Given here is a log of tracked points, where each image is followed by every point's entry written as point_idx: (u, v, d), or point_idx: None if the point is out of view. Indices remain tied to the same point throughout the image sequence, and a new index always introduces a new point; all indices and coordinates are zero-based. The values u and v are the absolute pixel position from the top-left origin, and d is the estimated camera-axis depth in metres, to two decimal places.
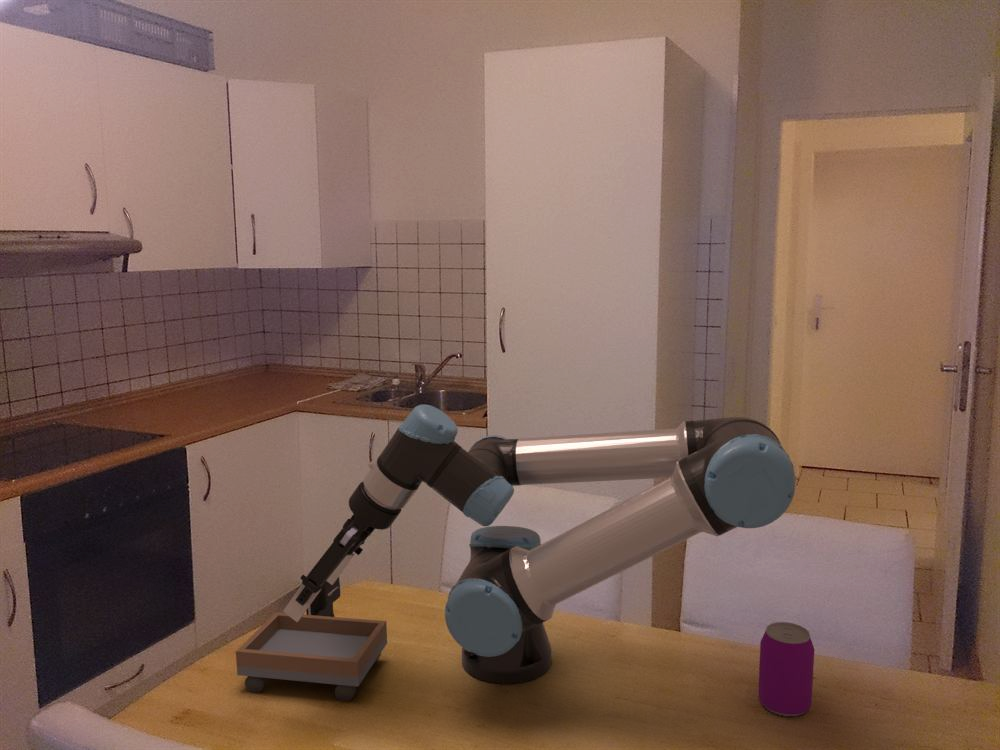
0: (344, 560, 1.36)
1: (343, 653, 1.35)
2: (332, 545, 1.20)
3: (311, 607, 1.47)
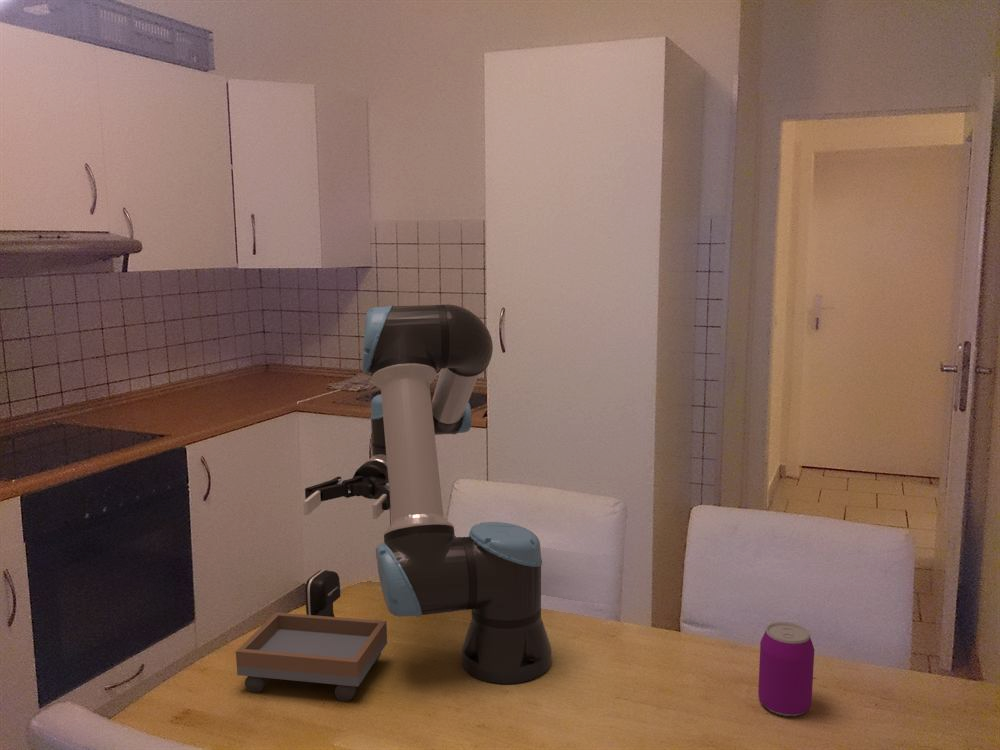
0: None
1: (343, 653, 1.35)
2: None
3: (311, 607, 1.47)
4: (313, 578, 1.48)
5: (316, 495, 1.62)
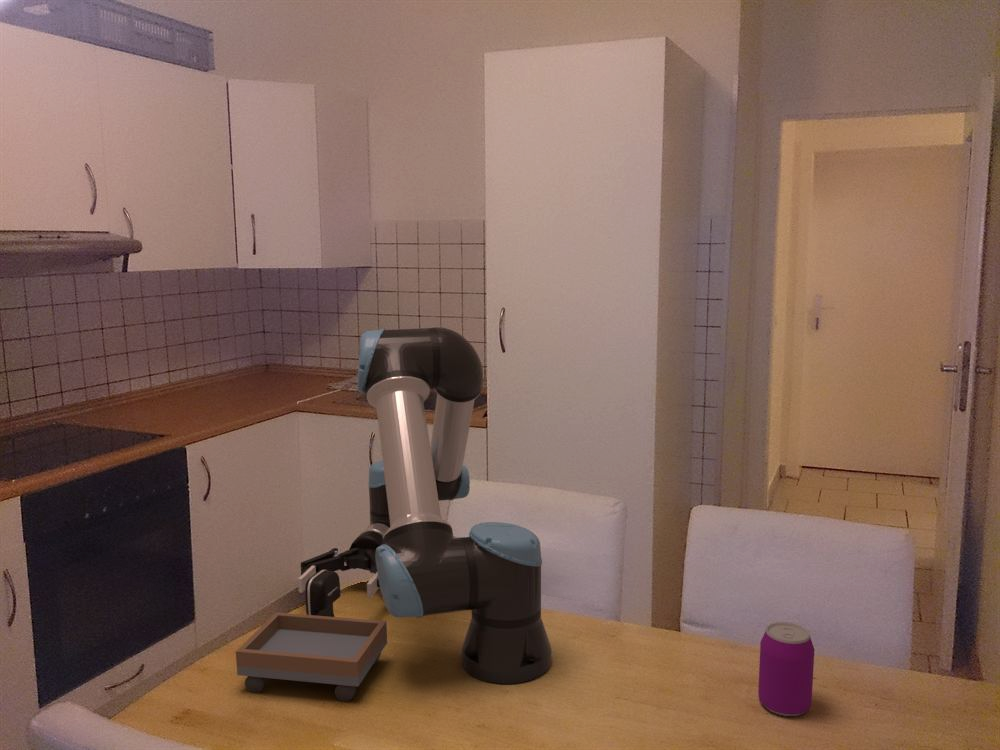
0: None
1: (343, 653, 1.35)
2: None
3: (311, 607, 1.47)
4: (313, 578, 1.48)
5: (311, 571, 1.61)
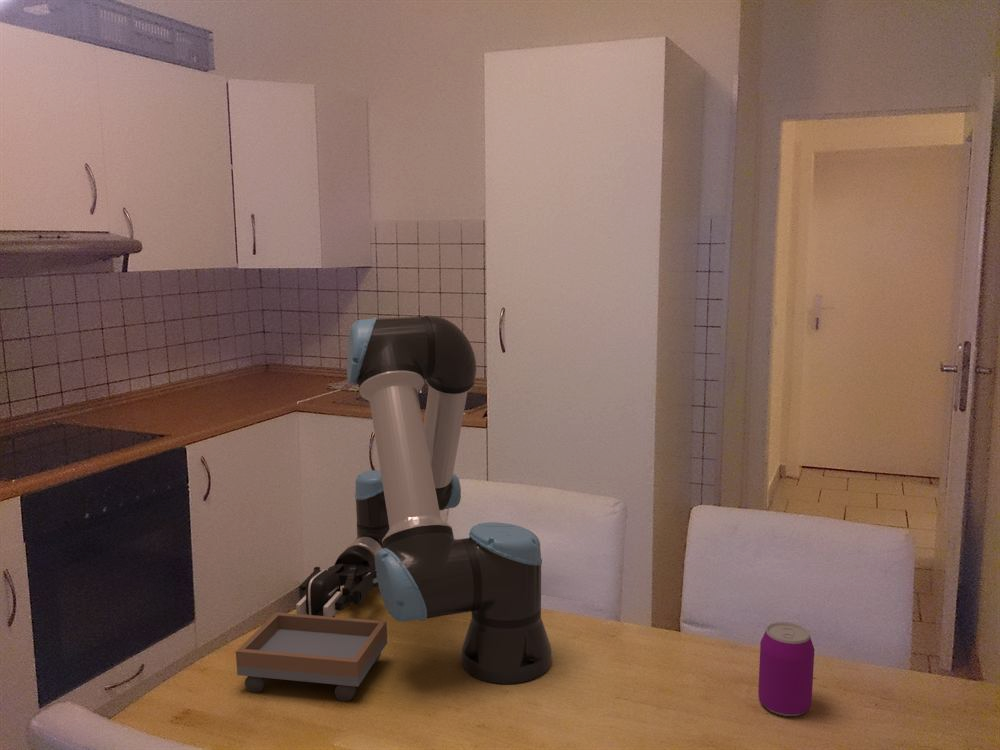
0: None
1: (343, 653, 1.35)
2: None
3: (311, 607, 1.47)
4: (314, 578, 1.48)
5: None
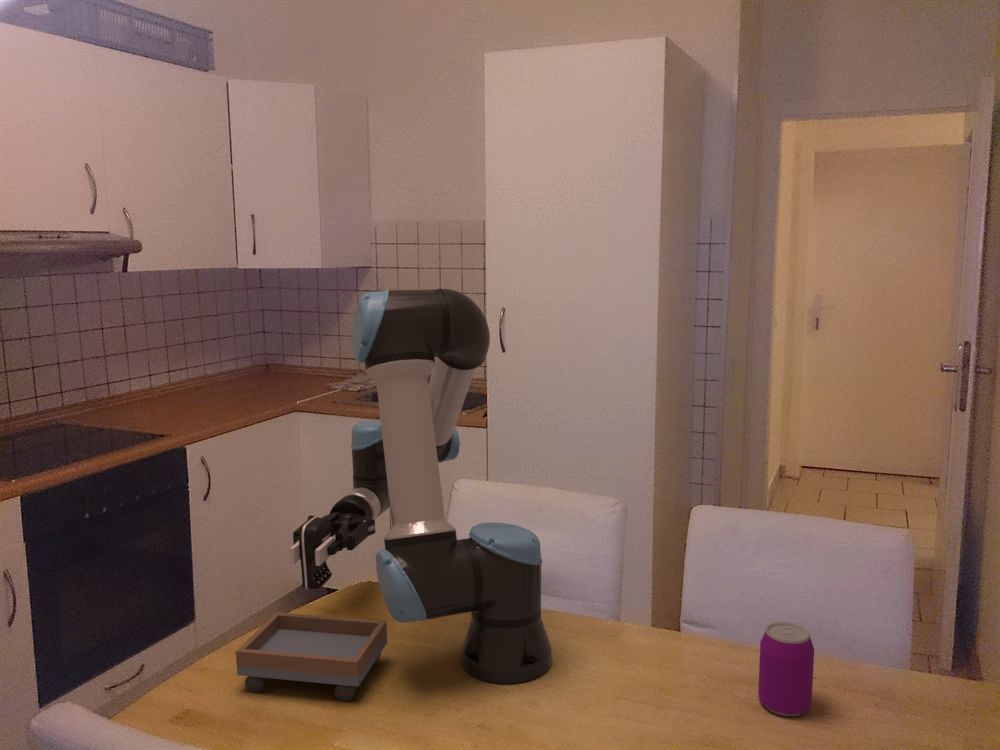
0: None
1: (343, 653, 1.35)
2: None
3: (305, 554, 1.42)
4: (306, 524, 1.43)
5: None
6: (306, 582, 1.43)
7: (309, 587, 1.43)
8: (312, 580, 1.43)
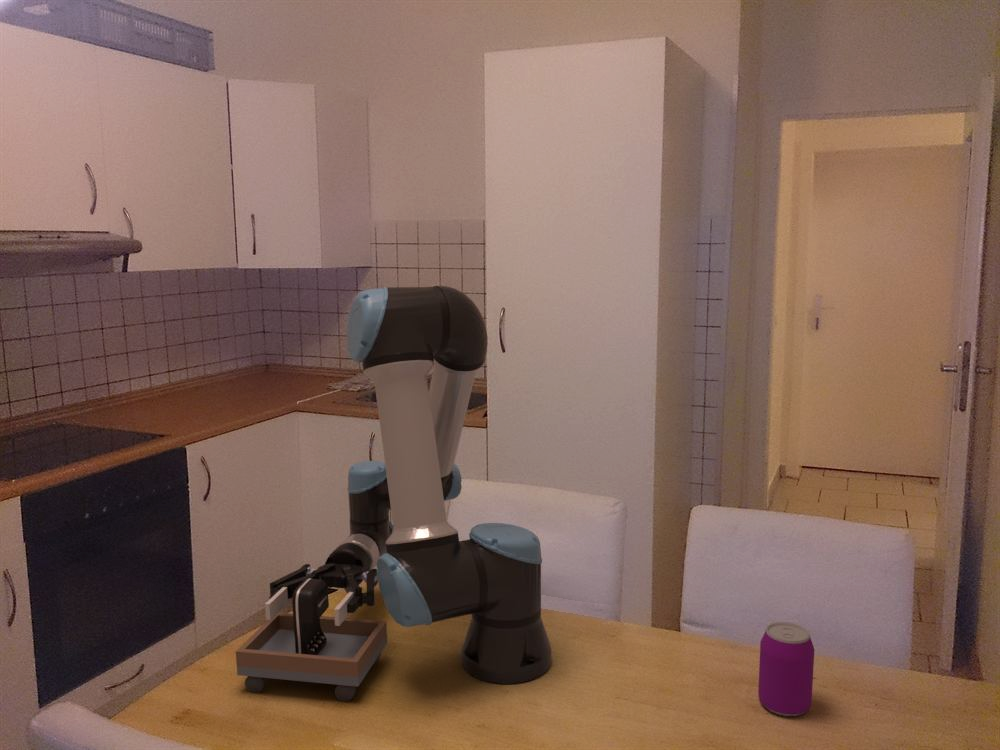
0: None
1: (343, 653, 1.35)
2: None
3: (299, 621, 1.32)
4: (301, 588, 1.32)
5: (282, 593, 1.36)
6: (300, 651, 1.33)
7: None
8: (306, 648, 1.33)
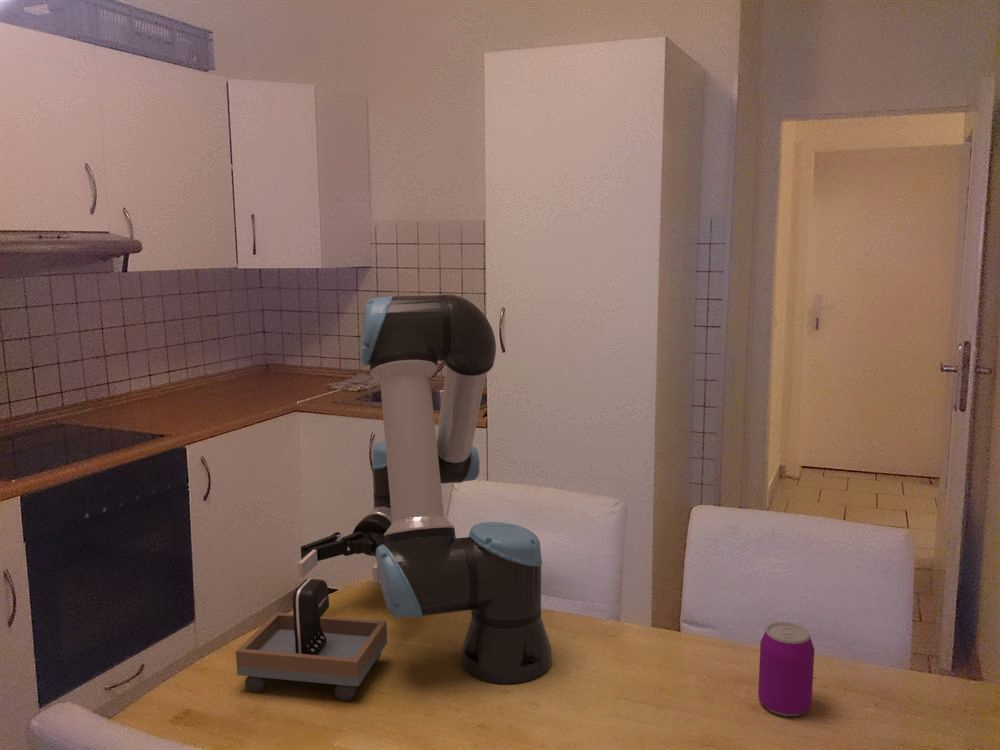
0: None
1: (343, 653, 1.35)
2: None
3: (300, 621, 1.32)
4: (301, 588, 1.32)
5: (312, 555, 1.50)
6: (300, 651, 1.33)
7: None
8: (306, 648, 1.33)
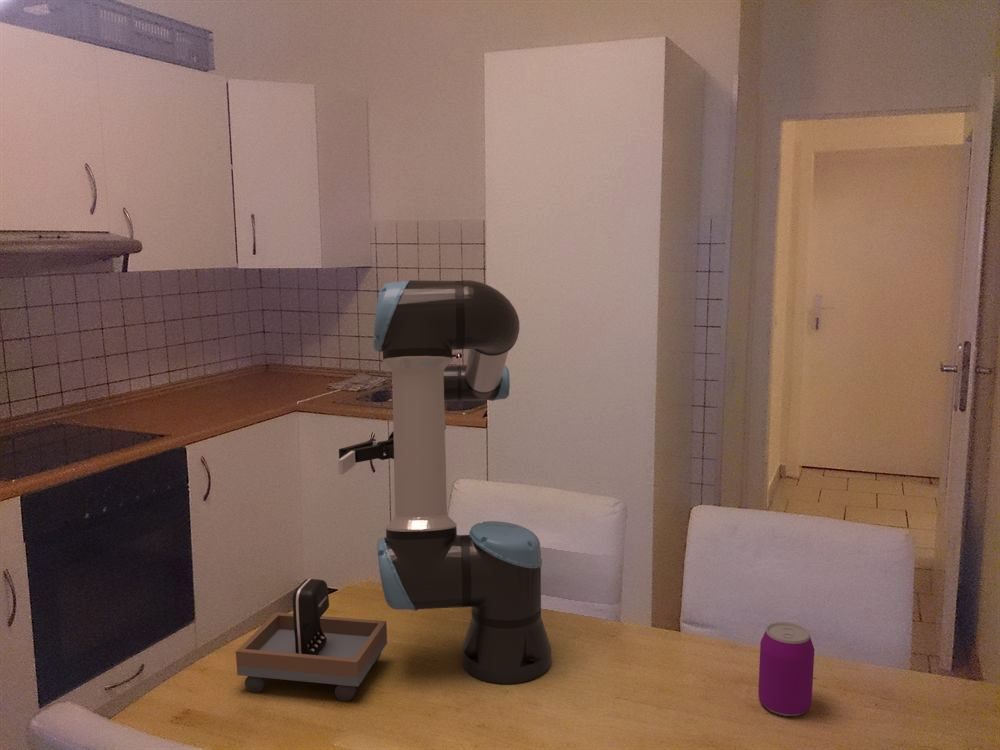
0: None
1: (343, 653, 1.35)
2: None
3: (300, 621, 1.32)
4: (301, 588, 1.32)
5: (351, 455, 1.54)
6: (300, 651, 1.33)
7: None
8: (306, 648, 1.33)
